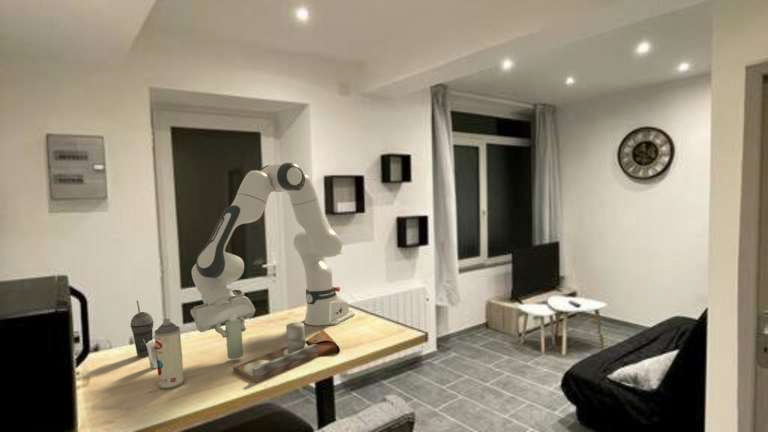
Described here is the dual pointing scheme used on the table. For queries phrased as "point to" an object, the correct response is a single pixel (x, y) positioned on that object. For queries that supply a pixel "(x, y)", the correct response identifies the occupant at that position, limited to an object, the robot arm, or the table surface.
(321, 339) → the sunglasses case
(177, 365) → the aerosol can
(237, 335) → the slim bottle
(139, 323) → the beverage cup
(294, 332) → the rail stand
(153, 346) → the milkshake
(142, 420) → the table surface
